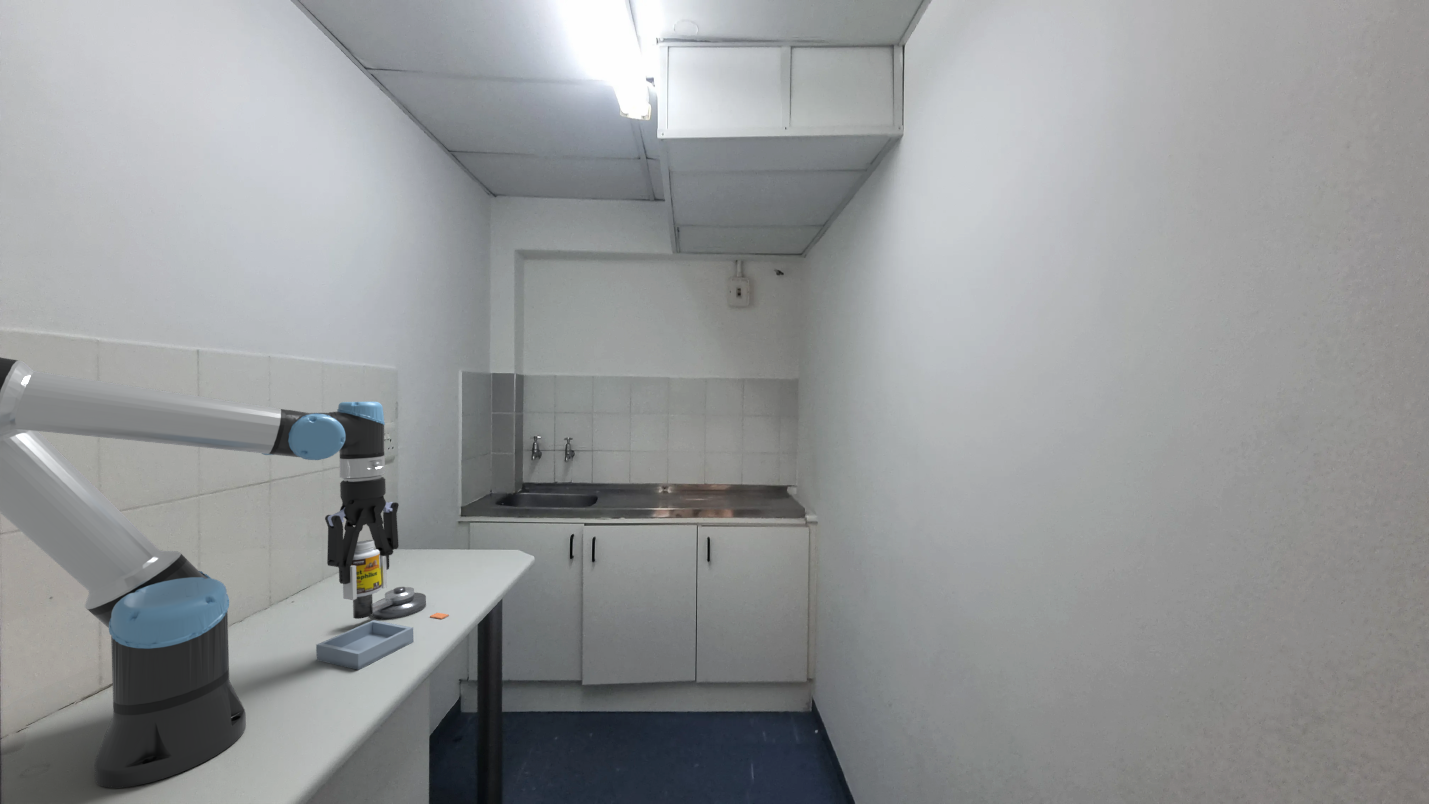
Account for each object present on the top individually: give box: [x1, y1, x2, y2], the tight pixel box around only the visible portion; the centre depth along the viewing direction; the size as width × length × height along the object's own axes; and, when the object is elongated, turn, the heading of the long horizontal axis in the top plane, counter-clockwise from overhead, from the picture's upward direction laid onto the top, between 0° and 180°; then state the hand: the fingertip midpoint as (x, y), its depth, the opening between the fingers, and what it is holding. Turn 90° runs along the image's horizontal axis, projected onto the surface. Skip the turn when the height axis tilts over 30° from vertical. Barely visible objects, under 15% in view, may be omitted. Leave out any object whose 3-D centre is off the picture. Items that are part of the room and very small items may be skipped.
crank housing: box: [372, 592, 427, 621], centre depth 124 cm, size 11×11×2 cm
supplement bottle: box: [352, 539, 383, 597], centre depth 104 cm, size 6×6×10 cm
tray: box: [315, 619, 414, 671], centre depth 104 cm, size 12×12×3 cm
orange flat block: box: [429, 612, 450, 620], centre depth 120 cm, size 2×4×1 cm, turn 70°
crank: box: [352, 586, 415, 620], centre depth 120 cm, size 14×6×6 cm, turn 160°
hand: (365, 592), depth 104 cm, fingers closed on supplement bottle, 6 cm apart
